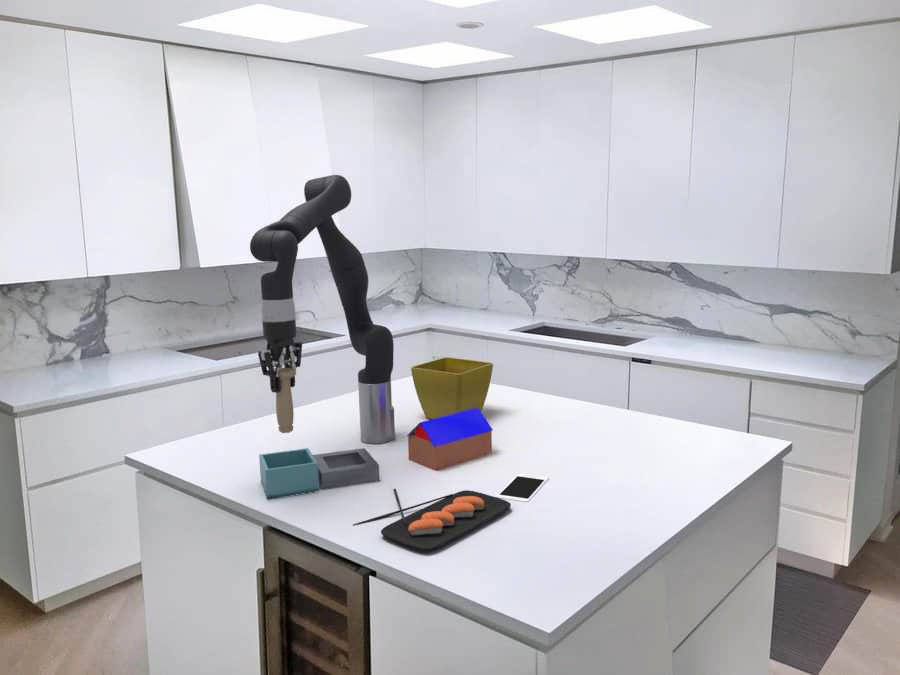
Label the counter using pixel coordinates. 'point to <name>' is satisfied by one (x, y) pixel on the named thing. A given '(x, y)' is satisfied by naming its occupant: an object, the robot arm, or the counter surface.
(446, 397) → the flower pot
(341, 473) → the socket block
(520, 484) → the cell phone
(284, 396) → the handle
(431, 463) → the house
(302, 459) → the bin
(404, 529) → the sushi plate
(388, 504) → the counter surface
